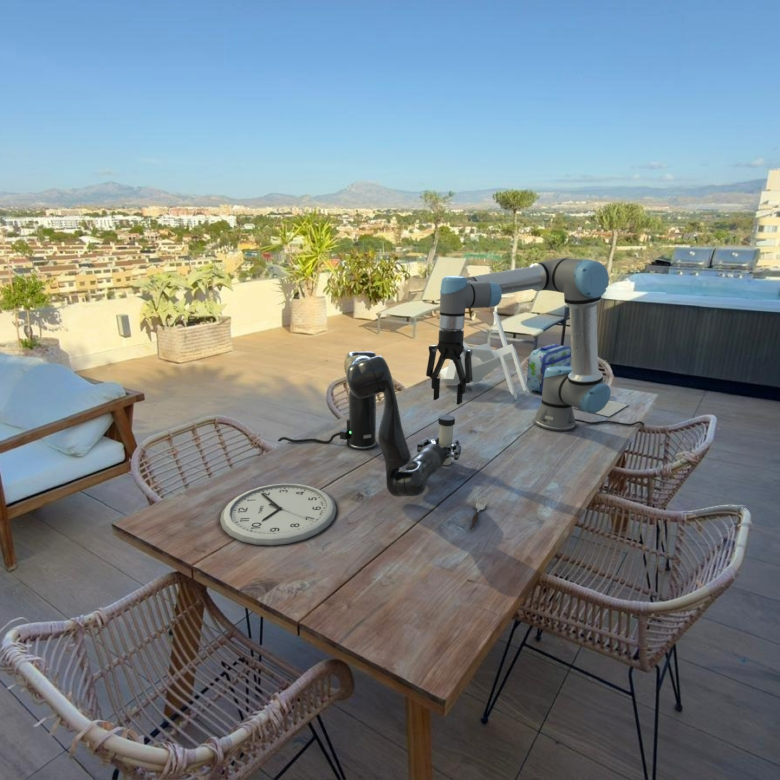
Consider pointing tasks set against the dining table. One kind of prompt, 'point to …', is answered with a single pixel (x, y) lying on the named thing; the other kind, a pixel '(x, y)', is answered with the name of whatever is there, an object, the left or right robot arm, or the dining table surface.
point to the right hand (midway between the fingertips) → (447, 401)
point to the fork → (478, 507)
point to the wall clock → (278, 514)
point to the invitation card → (611, 408)
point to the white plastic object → (488, 362)
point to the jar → (446, 439)
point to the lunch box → (546, 363)
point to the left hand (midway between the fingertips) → (448, 440)
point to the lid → (446, 420)
